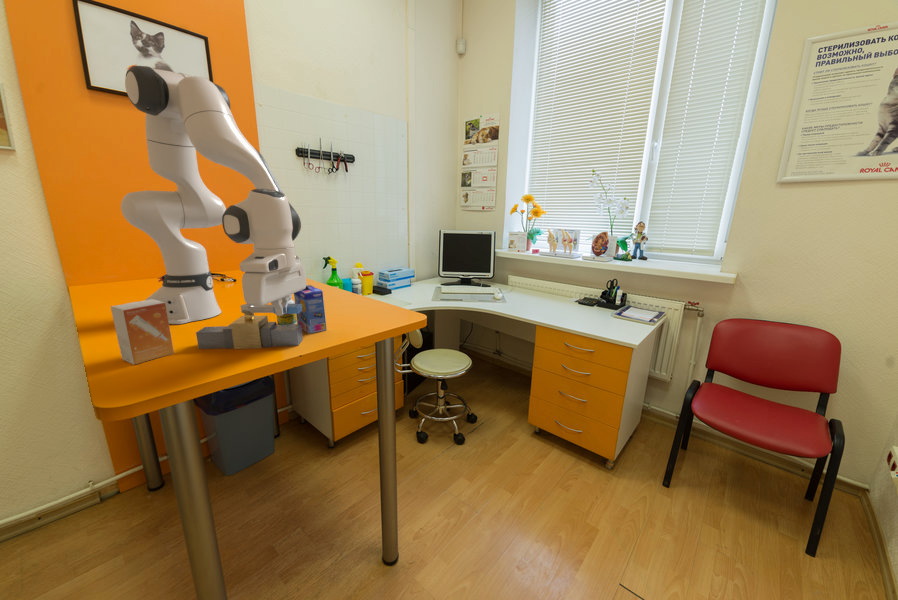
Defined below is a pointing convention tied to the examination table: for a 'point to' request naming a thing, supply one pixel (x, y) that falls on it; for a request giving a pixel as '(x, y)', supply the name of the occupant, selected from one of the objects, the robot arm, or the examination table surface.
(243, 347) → the valve pipe
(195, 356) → the examination table surface
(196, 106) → the robot arm
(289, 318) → the supplement bottle
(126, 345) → the small box
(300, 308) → the lever
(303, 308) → the ink cartridge box
